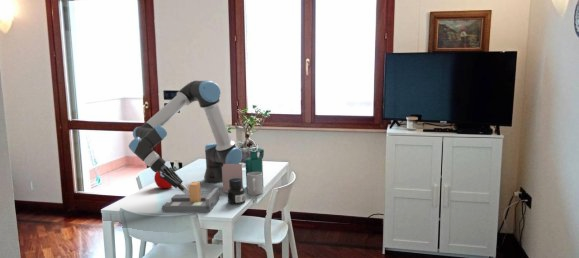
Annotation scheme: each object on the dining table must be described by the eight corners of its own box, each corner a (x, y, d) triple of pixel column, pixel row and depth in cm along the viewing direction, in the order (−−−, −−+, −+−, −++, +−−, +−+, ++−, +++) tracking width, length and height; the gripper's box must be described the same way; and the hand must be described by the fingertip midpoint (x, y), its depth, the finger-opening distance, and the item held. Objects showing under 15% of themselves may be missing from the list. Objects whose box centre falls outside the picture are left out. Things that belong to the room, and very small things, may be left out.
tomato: (167, 184, 279) (165, 164, 277) (180, 186, 273) (178, 166, 271) (150, 189, 269) (148, 168, 267) (163, 192, 263) (161, 170, 261)
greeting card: (243, 189, 263) (242, 163, 260) (238, 193, 256) (237, 166, 253) (225, 188, 266) (223, 163, 264) (219, 192, 259) (218, 166, 257)
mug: (248, 190, 260) (247, 171, 258) (263, 190, 260) (262, 171, 258) (246, 197, 248) (245, 177, 247) (261, 196, 248) (260, 176, 246)
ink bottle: (239, 205, 233) (238, 182, 232) (224, 204, 237) (223, 181, 235) (248, 200, 242) (247, 178, 241) (233, 198, 246) (232, 177, 244)
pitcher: (251, 189, 262) (249, 151, 258) (245, 186, 269) (243, 149, 266) (266, 187, 266) (265, 149, 263) (260, 183, 274) (259, 147, 270)
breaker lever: (190, 204, 233) (189, 184, 231) (193, 200, 239) (192, 181, 237) (197, 203, 233) (196, 184, 231) (201, 200, 238) (200, 181, 237)
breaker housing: (162, 212, 227) (161, 199, 226) (175, 199, 247) (174, 188, 246) (209, 212, 225) (209, 199, 224) (219, 199, 245) (218, 187, 244)
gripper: (155, 164, 241) (188, 194, 242) (145, 170, 228) (180, 202, 229) (164, 154, 240) (197, 185, 241) (154, 159, 227) (189, 192, 228)
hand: (188, 193), depth 235 cm, fingers closed
